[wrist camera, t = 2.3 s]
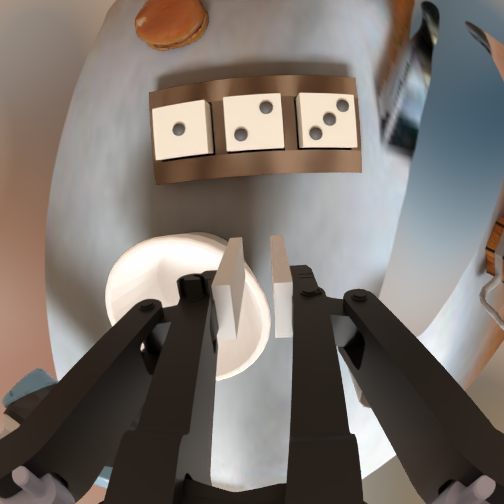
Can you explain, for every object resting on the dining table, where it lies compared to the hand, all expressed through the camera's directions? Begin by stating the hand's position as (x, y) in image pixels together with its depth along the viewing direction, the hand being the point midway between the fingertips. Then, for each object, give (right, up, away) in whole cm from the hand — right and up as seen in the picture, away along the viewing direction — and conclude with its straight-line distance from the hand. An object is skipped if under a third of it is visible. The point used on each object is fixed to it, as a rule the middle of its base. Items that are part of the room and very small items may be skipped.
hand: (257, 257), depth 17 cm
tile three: (+8, +15, +12) cm, 21 cm away
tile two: (0, +15, +12) cm, 19 cm away
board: (0, +16, +14) cm, 21 cm away
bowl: (-8, -4, +21) cm, 23 cm away
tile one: (-8, +15, +13) cm, 21 cm away
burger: (-11, +31, +9) cm, 34 cm away
